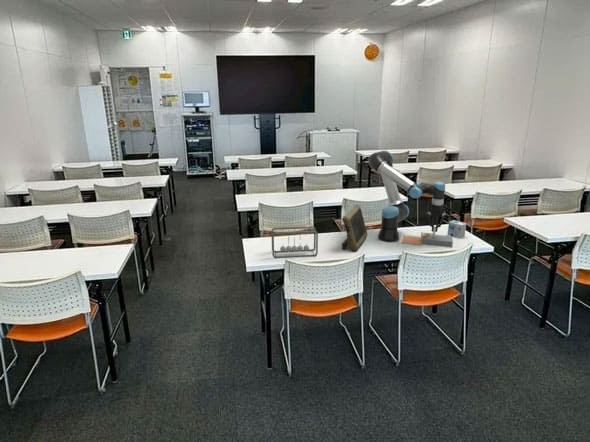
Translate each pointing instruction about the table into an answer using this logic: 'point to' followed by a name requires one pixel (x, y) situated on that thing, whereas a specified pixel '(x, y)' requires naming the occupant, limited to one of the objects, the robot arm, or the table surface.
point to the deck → (438, 241)
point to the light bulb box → (456, 229)
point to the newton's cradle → (294, 248)
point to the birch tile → (426, 235)
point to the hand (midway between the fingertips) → (433, 235)
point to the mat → (412, 240)
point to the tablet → (354, 229)
